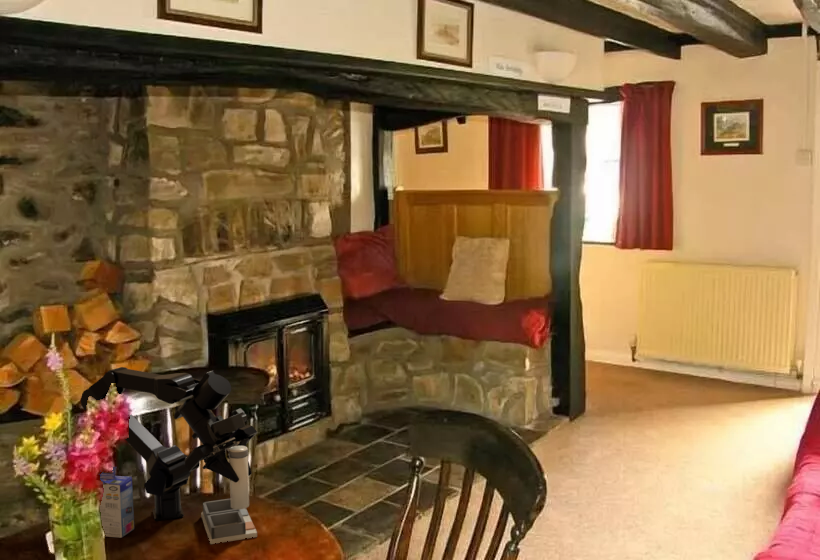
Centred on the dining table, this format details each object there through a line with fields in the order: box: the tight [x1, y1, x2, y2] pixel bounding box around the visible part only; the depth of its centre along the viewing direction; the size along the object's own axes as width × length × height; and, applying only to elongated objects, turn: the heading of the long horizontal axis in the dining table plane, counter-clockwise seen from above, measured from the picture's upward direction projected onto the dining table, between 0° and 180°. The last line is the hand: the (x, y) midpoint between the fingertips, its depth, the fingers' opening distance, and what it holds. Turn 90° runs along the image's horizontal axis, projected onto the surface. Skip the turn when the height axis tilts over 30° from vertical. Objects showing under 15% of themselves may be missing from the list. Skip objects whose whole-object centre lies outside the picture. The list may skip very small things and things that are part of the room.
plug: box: [228, 445, 250, 509], centre depth 187 cm, size 4×4×13 cm
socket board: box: [200, 498, 258, 545], centre depth 191 cm, size 15×10×4 cm, turn 20°
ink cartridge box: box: [99, 466, 135, 539], centre depth 188 cm, size 10×6×14 cm, turn 78°
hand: (244, 477), depth 187 cm, fingers closed on plug, 4 cm apart
